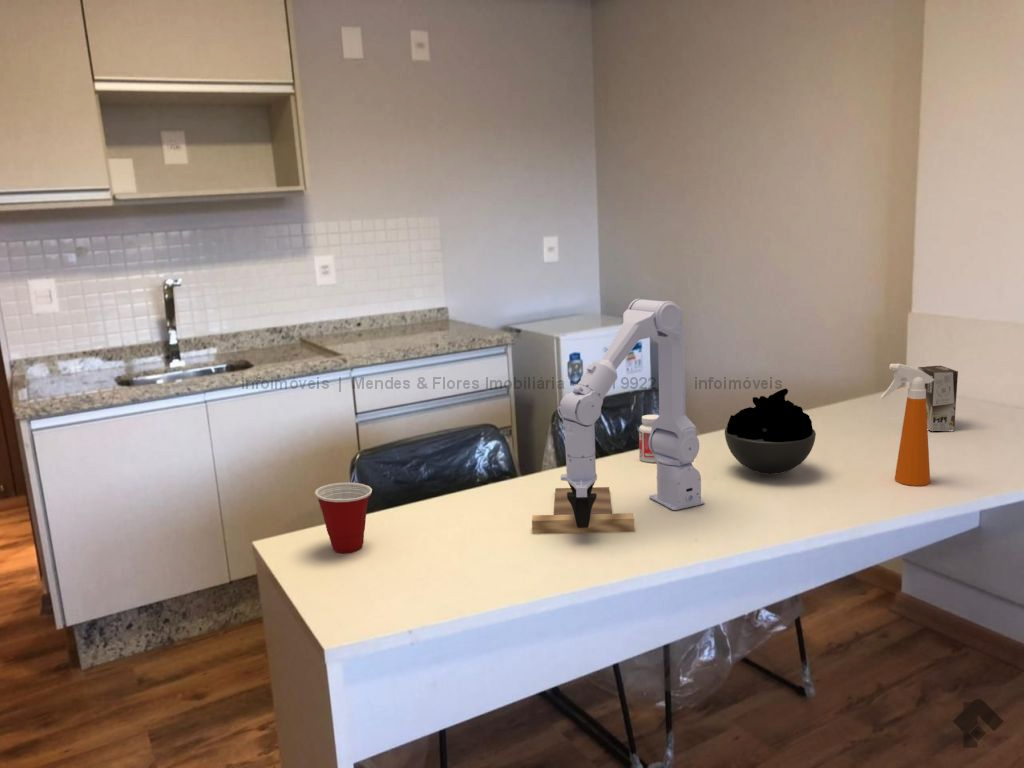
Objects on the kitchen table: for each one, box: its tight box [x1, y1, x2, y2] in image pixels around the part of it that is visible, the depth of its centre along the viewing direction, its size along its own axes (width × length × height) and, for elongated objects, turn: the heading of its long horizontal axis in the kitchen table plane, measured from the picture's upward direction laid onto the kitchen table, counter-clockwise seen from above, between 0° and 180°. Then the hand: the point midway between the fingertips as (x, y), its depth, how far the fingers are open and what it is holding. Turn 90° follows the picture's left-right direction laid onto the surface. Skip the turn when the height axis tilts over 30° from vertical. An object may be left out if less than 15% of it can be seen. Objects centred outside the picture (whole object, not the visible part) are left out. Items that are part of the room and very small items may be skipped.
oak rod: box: [531, 512, 635, 534], centre depth 163 cm, size 20×3×3 cm, turn 86°
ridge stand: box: [553, 486, 613, 515], centre depth 176 cm, size 16×12×5 cm
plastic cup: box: [314, 482, 373, 554], centre depth 159 cm, size 11×11×12 cm
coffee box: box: [918, 365, 959, 432], centre depth 218 cm, size 9×6×16 cm
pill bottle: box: [638, 414, 659, 463], centre depth 204 cm, size 6×6×11 cm
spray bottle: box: [879, 363, 934, 487], centre depth 178 cm, size 7×11×26 cm, turn 78°
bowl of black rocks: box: [724, 388, 817, 475], centre depth 189 cm, size 20×20×19 cm
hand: (582, 519), depth 162 cm, fingers open, 7 cm apart
